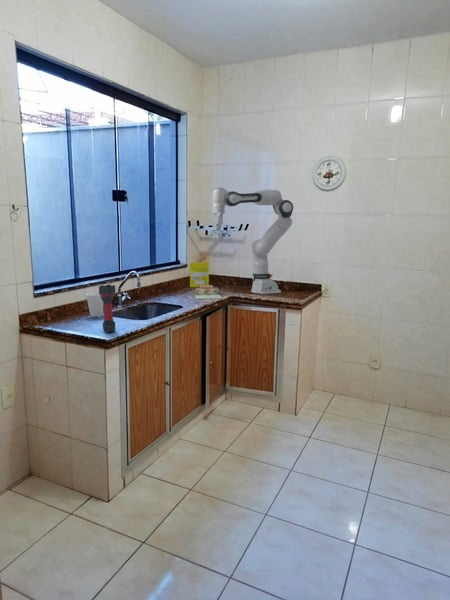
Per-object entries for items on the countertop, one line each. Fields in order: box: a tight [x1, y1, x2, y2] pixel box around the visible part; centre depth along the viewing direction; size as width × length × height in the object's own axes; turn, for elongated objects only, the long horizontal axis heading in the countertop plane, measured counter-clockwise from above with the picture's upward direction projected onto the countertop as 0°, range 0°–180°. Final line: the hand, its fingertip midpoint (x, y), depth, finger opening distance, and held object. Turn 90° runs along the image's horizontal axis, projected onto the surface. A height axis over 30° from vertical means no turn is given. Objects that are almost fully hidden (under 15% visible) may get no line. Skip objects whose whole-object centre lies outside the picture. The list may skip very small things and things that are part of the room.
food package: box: [189, 262, 210, 288], centre depth 332 cm, size 15×1×20 cm, turn 84°
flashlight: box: [98, 284, 116, 333], centre depth 198 cm, size 8×8×23 cm
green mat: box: [194, 294, 223, 300], centre depth 290 cm, size 18×13×1 cm
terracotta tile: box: [199, 284, 214, 290], centre depth 302 cm, size 9×6×2 cm, turn 98°
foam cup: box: [85, 292, 104, 317], centre depth 231 cm, size 10×9×13 cm
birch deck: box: [194, 287, 220, 295], centre depth 301 cm, size 16×10×4 cm, turn 98°
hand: (218, 230), depth 298 cm, fingers open, 8 cm apart
